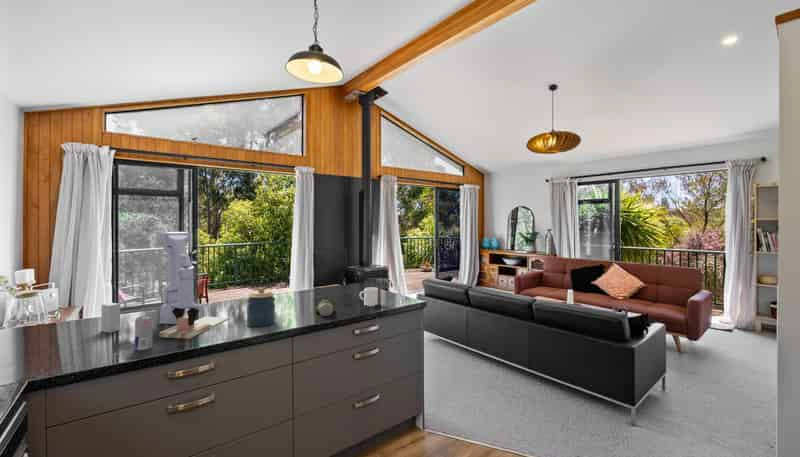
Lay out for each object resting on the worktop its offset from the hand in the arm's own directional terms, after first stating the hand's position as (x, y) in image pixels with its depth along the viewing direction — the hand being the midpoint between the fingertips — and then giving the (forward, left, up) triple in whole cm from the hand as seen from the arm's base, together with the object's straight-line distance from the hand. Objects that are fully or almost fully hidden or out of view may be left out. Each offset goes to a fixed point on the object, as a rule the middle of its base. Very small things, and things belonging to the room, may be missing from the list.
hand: (185, 324), depth 151 cm
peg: (0, 0, -3) cm, 3 cm away
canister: (+26, +17, -4) cm, 31 cm away
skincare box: (-34, -2, -4) cm, 34 cm away
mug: (+71, +60, -4) cm, 93 cm away
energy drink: (-3, -19, -4) cm, 20 cm away
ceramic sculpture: (+51, +38, -4) cm, 64 cm away
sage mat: (0, +16, -3) cm, 16 cm away
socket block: (0, 0, -3) cm, 3 cm away
